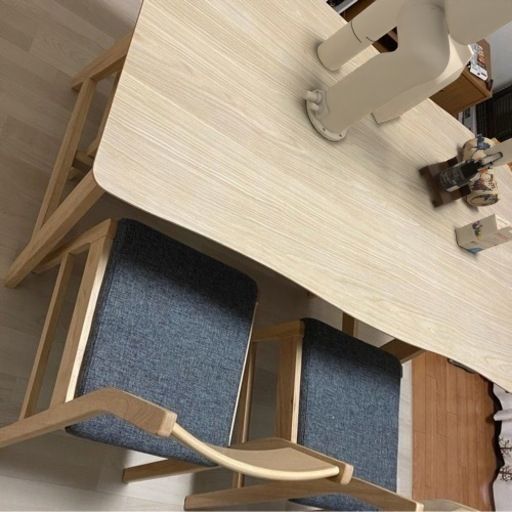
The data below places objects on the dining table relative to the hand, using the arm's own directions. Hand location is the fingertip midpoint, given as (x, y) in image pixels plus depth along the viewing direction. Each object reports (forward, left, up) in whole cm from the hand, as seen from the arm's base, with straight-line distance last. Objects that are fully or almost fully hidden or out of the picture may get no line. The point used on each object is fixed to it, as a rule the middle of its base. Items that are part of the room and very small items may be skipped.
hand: (468, 170), depth 148 cm
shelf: (+1, 0, -10) cm, 10 cm away
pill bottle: (0, 0, -7) cm, 7 cm away
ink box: (+9, -15, -10) cm, 20 cm away
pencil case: (+19, +6, -10) cm, 22 cm away
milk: (-18, +21, -10) cm, 30 cm away
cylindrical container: (-36, +27, -10) cm, 47 cm away
